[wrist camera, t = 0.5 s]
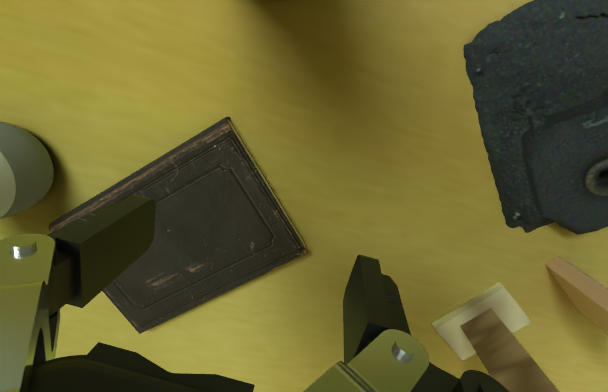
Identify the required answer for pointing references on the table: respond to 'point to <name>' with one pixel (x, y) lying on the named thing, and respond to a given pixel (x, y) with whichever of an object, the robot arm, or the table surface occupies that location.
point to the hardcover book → (198, 227)
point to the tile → (582, 292)
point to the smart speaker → (22, 170)
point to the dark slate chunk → (546, 112)
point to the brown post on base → (494, 339)
